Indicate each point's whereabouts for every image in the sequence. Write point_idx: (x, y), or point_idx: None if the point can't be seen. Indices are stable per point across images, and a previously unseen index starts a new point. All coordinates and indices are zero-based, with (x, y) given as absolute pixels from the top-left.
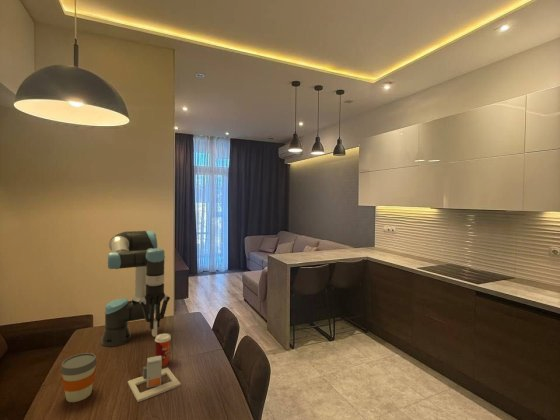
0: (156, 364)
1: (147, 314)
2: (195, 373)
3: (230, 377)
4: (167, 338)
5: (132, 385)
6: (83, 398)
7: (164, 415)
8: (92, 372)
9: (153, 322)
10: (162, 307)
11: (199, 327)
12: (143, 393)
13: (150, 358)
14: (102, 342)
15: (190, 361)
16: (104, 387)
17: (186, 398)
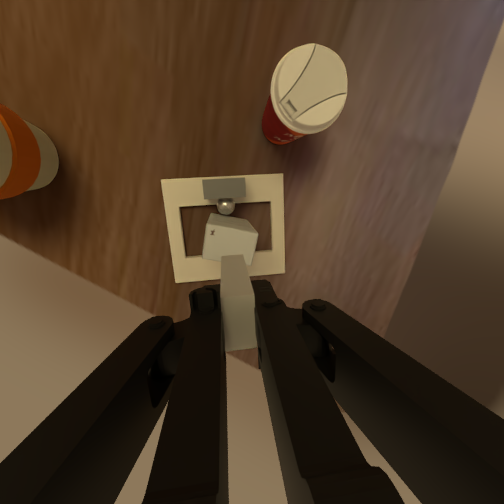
0: None
1: (127, 460)
2: (336, 241)
3: (392, 304)
4: (324, 124)
5: (171, 211)
6: (38, 188)
7: None
8: (2, 179)
9: (224, 337)
10: (392, 422)
11: None
12: (192, 264)
13: (216, 236)
14: None
15: (353, 170)
16: (96, 160)
17: None
